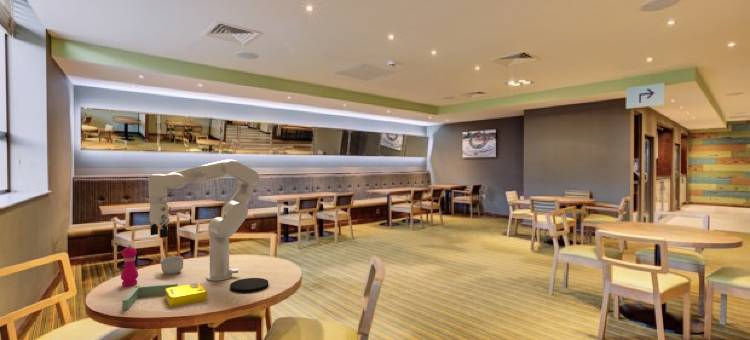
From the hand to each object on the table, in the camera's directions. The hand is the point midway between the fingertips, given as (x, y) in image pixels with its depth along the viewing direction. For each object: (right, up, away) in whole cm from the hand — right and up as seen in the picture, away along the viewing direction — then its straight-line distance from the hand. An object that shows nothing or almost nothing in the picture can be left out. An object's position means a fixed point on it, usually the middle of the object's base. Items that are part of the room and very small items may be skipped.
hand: (159, 236), depth 179 cm
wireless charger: (+41, -26, +5) cm, 49 cm away
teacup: (-9, -25, +27) cm, 38 cm away
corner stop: (+5, -26, -14) cm, 30 cm away
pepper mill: (-18, -25, +7) cm, 32 cm away
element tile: (+18, -27, -11) cm, 34 cm away
